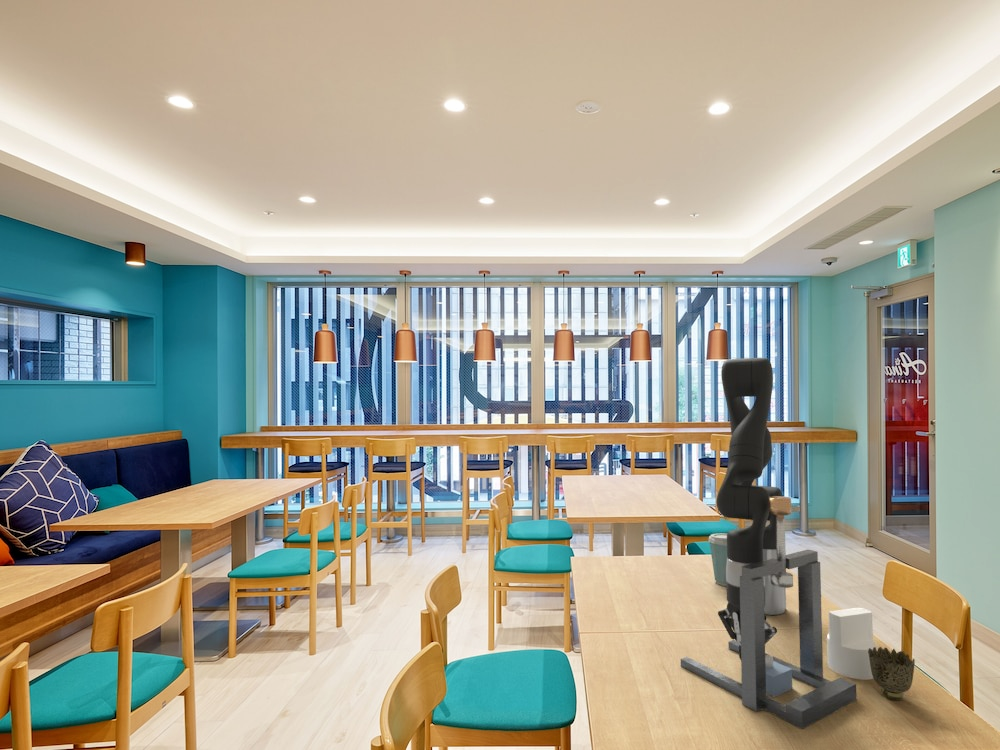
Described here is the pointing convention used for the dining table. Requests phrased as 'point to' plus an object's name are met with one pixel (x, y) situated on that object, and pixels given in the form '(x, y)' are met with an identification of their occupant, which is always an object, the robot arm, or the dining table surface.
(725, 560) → the disposable coffee cup
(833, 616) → the base with upright slab
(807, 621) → the press frame
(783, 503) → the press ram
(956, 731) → the dining table surface
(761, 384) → the robot arm
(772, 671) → the housing block
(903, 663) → the cup
